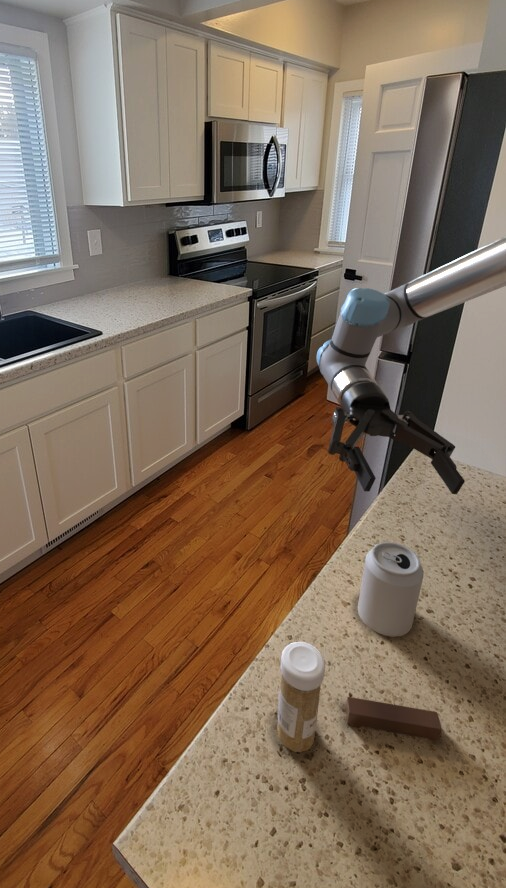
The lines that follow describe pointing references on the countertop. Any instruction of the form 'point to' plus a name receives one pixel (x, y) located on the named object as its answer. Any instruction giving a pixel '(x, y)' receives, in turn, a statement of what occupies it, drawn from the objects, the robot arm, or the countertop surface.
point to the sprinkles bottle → (299, 695)
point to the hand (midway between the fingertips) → (415, 486)
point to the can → (390, 588)
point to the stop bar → (393, 718)
